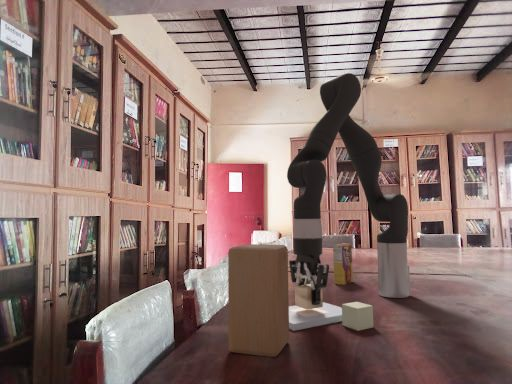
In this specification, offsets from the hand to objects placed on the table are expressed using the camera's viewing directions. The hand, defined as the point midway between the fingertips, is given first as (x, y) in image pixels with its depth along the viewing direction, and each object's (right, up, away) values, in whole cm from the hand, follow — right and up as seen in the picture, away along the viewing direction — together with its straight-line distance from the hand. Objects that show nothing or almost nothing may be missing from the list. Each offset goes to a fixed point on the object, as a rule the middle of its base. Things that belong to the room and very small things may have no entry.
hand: (308, 302), depth 94 cm
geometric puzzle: (+4, -7, +33) cm, 34 cm away
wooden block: (-13, -3, -22) cm, 25 cm away
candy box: (+21, -8, +49) cm, 54 cm away
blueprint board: (0, -4, 0) cm, 4 cm away
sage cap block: (+10, -3, -8) cm, 14 cm away
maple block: (0, -1, 0) cm, 1 cm away
